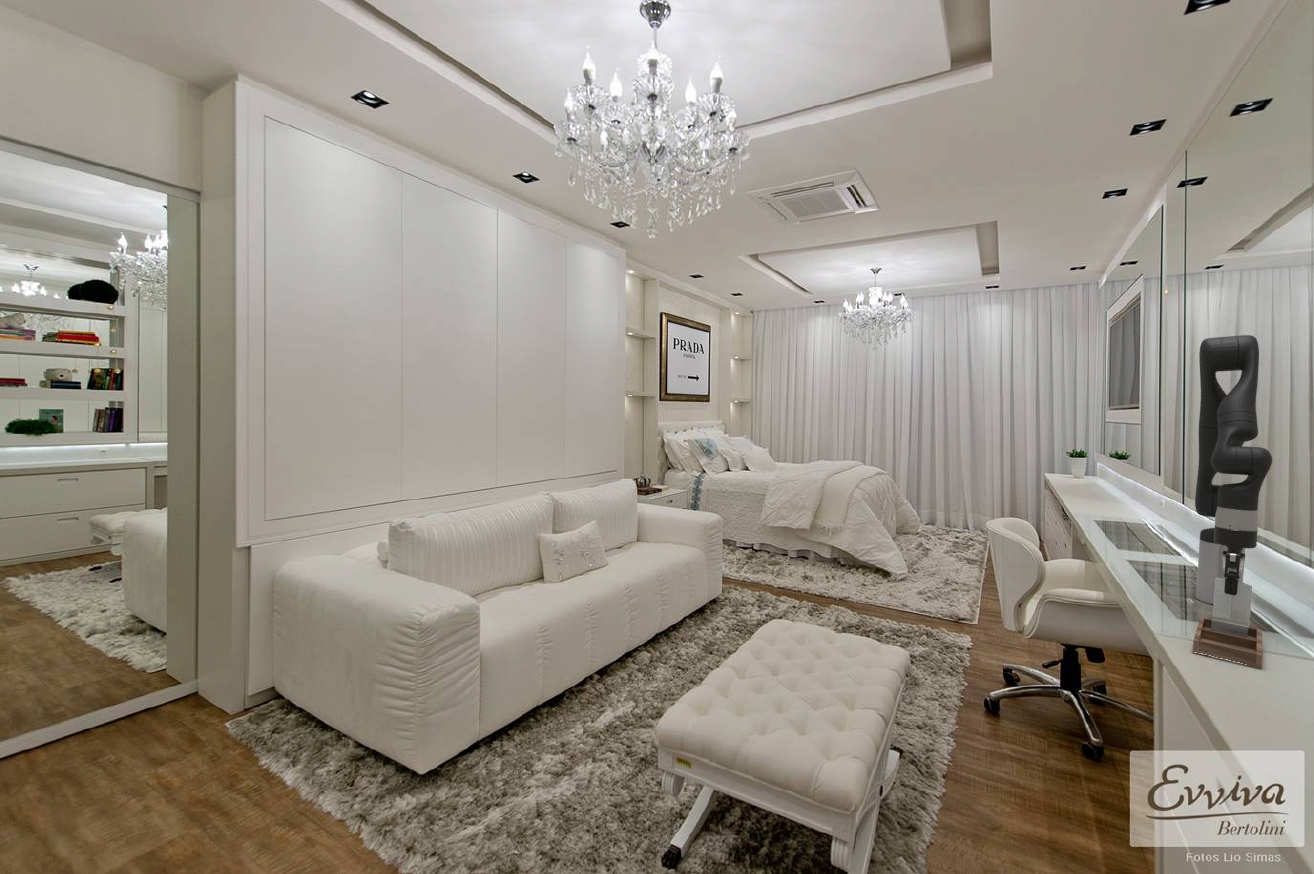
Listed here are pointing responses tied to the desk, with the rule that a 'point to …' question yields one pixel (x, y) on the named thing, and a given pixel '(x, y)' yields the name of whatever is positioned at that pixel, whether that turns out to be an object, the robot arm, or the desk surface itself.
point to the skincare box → (1232, 601)
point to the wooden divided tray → (1229, 640)
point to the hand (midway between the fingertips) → (1231, 590)
